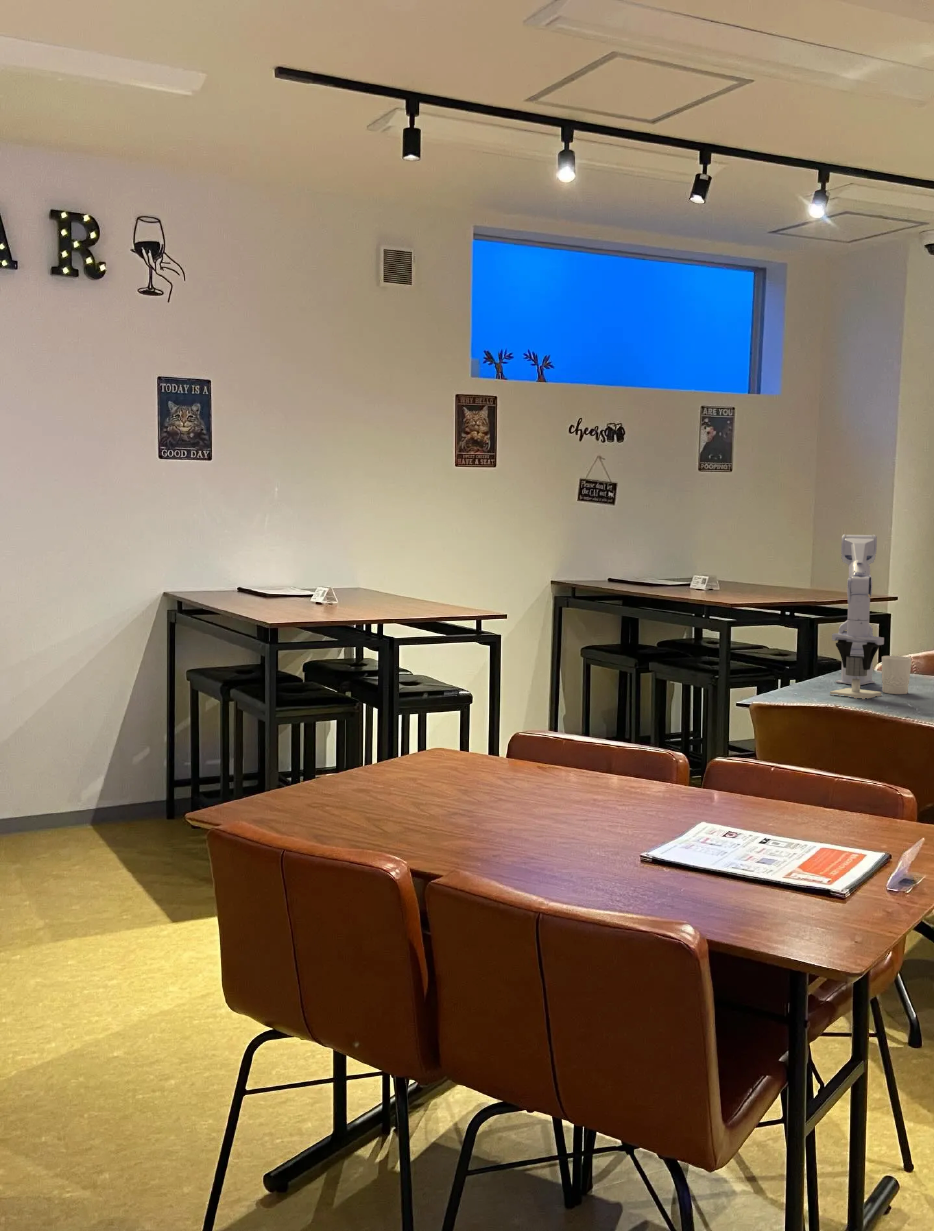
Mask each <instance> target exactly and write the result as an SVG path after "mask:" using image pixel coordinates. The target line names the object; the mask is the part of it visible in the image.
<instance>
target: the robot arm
mask: <svg viewBox="0 0 934 1231" xmlns="http://www.w3.org/2000/svg"><path fill="white" fill-rule="evenodd" d="M877 547H878V537H877V536H876V534H844V533H843V534H842V535H841V550H840V551H841V560H842V561H841V562H842V563H844V564H846V565H847V566H848V578H847V579H846V580H847V582H846V595H847V596H846V597H847V604H848V605H847V619H846V620H845V621H844V622H842V623H841V624H840V625H839V627H838V632H836V633H832V634H831V641H835V646H836V648H837V650H838V652H839V655H840V658H841V671H840V672H841V673H840V674H841V678H840V679H838V680H835V682H834V683H838V684H845V685H846V684H847V685H852V679H860V686H863V685H866V684H867V685H868V684H874V683H876V681H875V680H873V668H874V667H873V666H874V664H873V663H874V661H873V660H874V657H875V656H876V653H877V652H878V650H879V649H880V646H882V645H884V644H885V637H881V636H875V635H874V633H873V632H874V630H873V627H872V625H871V624H870V611H871V610H870V609H871V608H870V606H871V597H872V594H873V578H872V575H871V566H870V564H874V563H875V560H876V554H877ZM869 596H870V597H869ZM836 641H837V642H836ZM846 656H864V670H867V676H849V675H846V674H845V673H846Z"/></svg>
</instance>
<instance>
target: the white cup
mask: <svg viewBox="0 0 934 1231" xmlns="http://www.w3.org/2000/svg"><path fill="white" fill-rule="evenodd" d="M911 667H912V657H910V656H909V657H908V656H902V655H883V656H881V683H882V687H881V688H882V691H881V693H884V694H888V695H889V694H890V695H906V694H908V693H909V684H910V678H911V677H910V676H911Z"/></svg>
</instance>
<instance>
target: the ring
mask: <svg viewBox="0 0 934 1231" xmlns="http://www.w3.org/2000/svg"><path fill="white" fill-rule="evenodd" d="M845 674H846V675H849V676H867V670H864V656H846V673H845Z"/></svg>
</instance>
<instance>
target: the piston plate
mask: <svg viewBox="0 0 934 1231" xmlns="http://www.w3.org/2000/svg"><path fill="white" fill-rule="evenodd" d="M830 694H838V695H844V696H851V697H854V698H853V699H857V698H862V699H861V700H866V699H865V698H867V699H871V698H875V696H877V697H881V696H882V691H876V690H868V689H861V685H860V679H852V684H851V687H845V688H840V689H836V690H832V691H831V690H830V691H829V695H830Z"/></svg>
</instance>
